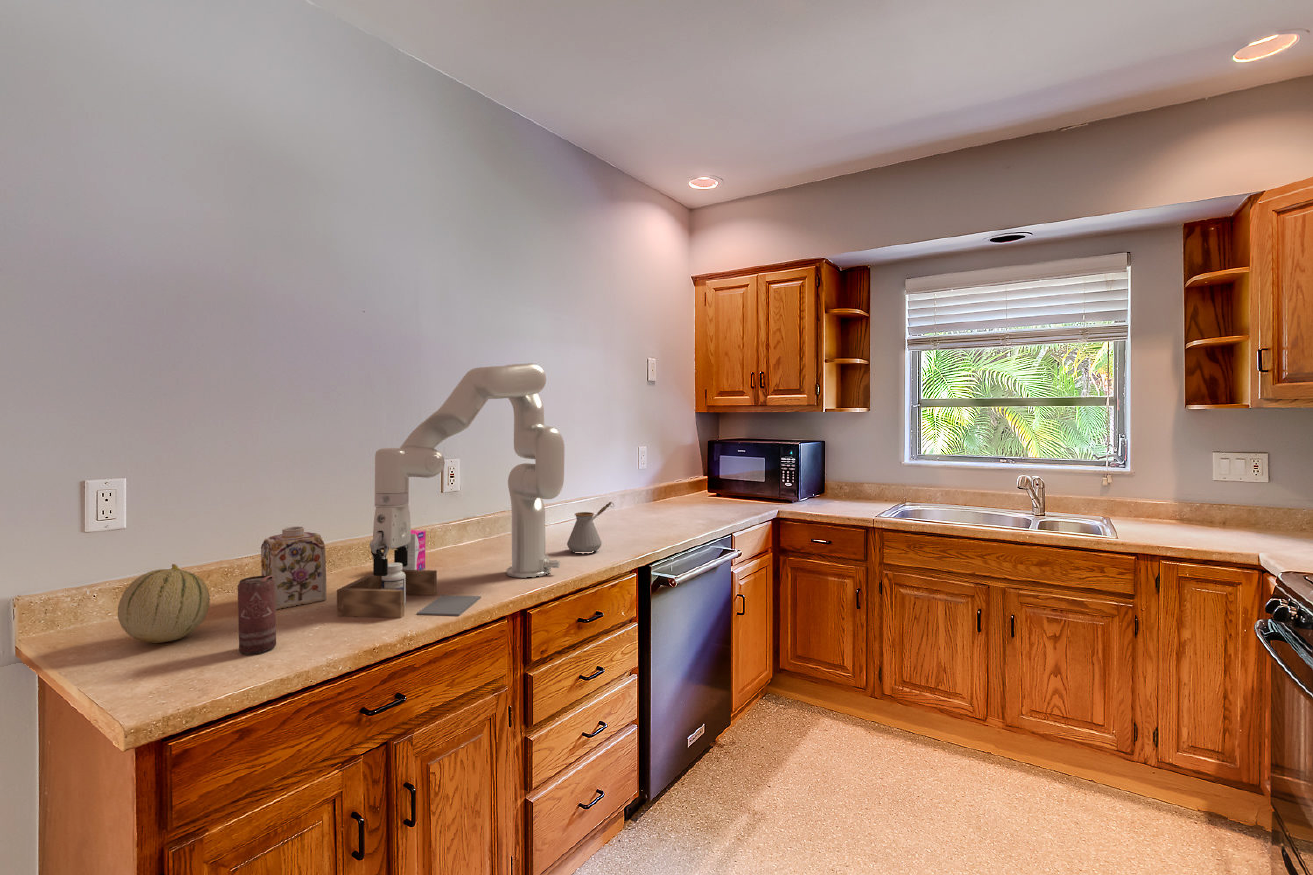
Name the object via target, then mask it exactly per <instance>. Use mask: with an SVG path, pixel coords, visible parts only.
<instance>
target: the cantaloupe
mask: <svg viewBox="0 0 1313 875" xmlns="http://www.w3.org/2000/svg"><path fill="white" fill-rule="evenodd" d="M210 597H211V596H210V593H209V589H208V586H207V584H206V583H205V581H204V580H203V579H202V577H200V576H199V575H197V574H195V573H193V572H191V571H187V570H184V569H183V570H182V569H179V567H178V565H177V564H176V563H172V564H171V568H161V569H155V570H151V571H147V572H146V573H143V574H141V575H140V576H139V577H137V578H135V579H134V580H133V581H132V582H131V583H130V584H129V585H128V586H127V587H126V588H125V590H124V591H123V593H122V595H121V597H120V599H119V602H118V605H117V618H118V620H117V621H118V622H119V625H120V627H121V628H122V629H123V631H125V633H126V634H127V635H128V636H129V637H131V638H133V639H135V640H137V641H141V642H146V643H151V644H163V643H167V642H173V641H177V640H179V639H182V638H183V637H185V636H187V635H189V634H191V633H192V632H194V631H195V630H196V629H197V628H198V627H199V626H200V625H201V624H202V623H203V622H204V620H205V618H206V616H207V614H208V611H209V608H210V604H211V602H210V601H211V598H210Z"/></svg>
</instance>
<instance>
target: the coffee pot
mask: <svg viewBox="0 0 1313 875" xmlns="http://www.w3.org/2000/svg"><path fill="white" fill-rule="evenodd" d="M611 504H613V506H612V505H611ZM609 507H611V508H613V507H615V504H614V503H613V502H612V501H610V502H608V503H607V504H605V505H604V506H603V507H601V509H600V510H598V512H596V514H595V513H594V512H590V511H589V512H588V511H582V512H581V511H580V512H575V513H574V516H575V518H576V521H575V523H574V525H573V528H572V531H571V533H570V535H569V536H568V537H569V538H568V540H567V542H566V543H567V544H566V545H567V547H568V549H569V550H570V551H572V552H573V551H574V552H592V551H596V552H597V551H598V550H600V548H601V547H602V544H603V542H602V540H601V537H600V535H599V532H598V530H597V528H596V526H595V523H594V520H595V519H596V518H598V516H600V515H601V514H603V513H604V512H605V511H606V510H607V508H609Z"/></svg>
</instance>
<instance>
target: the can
mask: <svg viewBox="0 0 1313 875" xmlns="http://www.w3.org/2000/svg"><path fill="white" fill-rule="evenodd" d="M238 582H239V583H238V585H237V612H238V614H237V615H238V651H239V653H241V655H246V656H254V655H255V654H256V655H261V654H260V653H262V654H264V653H268V652H270V651H272V650H273V649H275V647H276V645H277V623H276V622H277V621H276V620H277V618H276V617H277V616H276V610H275V581H274V578H273V576H262V575H255V576H249V577H245V578H242V579H240V580H239V581H238Z"/></svg>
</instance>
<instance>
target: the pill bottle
mask: <svg viewBox="0 0 1313 875" xmlns="http://www.w3.org/2000/svg"><path fill="white" fill-rule="evenodd" d="M402 569H403V567H402V563H394V562H389V563H388V575H387V576H382V579H381V581H382V589H396V590H404V605H405V604H406V603H407V595H406V575H405V573H404V572H402V571H401V570H402Z"/></svg>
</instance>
